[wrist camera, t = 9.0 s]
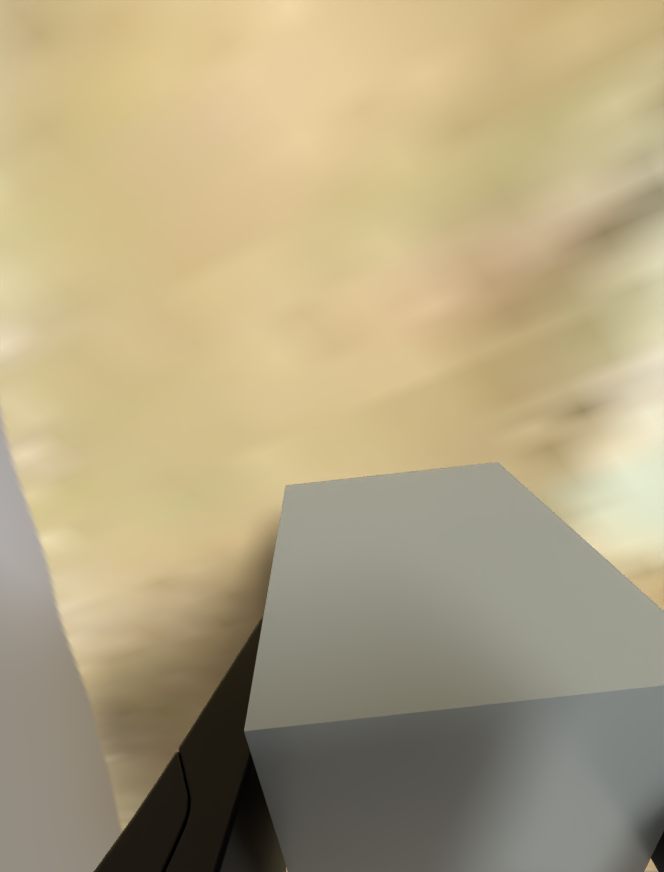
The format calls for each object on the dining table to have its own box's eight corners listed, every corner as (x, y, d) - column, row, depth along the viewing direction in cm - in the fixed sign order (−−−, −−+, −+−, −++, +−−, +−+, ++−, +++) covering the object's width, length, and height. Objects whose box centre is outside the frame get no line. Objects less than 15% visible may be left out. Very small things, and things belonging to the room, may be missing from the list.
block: (497, 462, 8) (736, 677, 4) (485, 618, 10) (631, 895, 5) (285, 485, 8) (243, 730, 4) (311, 637, 10) (307, 932, 5)
